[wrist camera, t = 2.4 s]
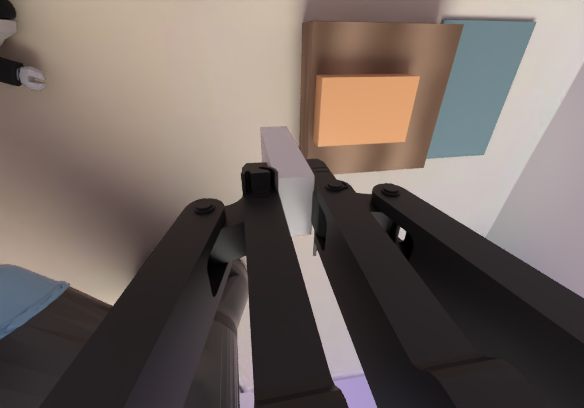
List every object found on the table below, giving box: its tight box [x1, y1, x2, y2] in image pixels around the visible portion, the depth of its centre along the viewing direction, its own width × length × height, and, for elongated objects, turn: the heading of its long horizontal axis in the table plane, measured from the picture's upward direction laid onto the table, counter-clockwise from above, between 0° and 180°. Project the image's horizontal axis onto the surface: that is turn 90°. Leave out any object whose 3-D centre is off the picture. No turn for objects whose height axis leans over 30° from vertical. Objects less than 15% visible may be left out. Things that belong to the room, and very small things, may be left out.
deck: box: [299, 21, 464, 174], centre depth 29 cm, size 14×14×4 cm
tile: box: [313, 74, 420, 147], centre depth 26 cm, size 9×6×2 cm, turn 89°
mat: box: [426, 20, 536, 159], centre depth 32 cm, size 11×15×1 cm
